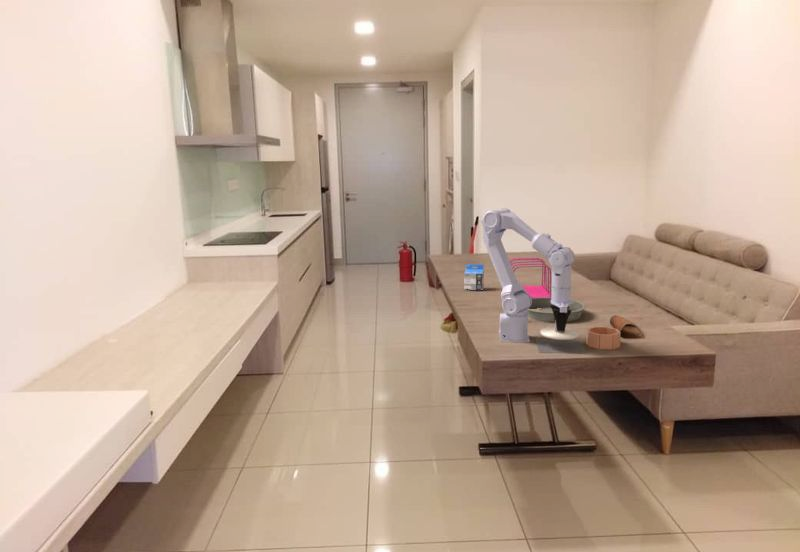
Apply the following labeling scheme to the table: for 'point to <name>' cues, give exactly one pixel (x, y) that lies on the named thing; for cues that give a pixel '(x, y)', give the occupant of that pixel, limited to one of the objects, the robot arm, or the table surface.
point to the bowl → (603, 337)
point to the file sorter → (542, 290)
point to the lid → (560, 333)
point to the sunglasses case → (626, 328)
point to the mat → (560, 346)
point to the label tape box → (474, 277)
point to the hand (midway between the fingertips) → (560, 329)
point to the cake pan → (547, 312)
